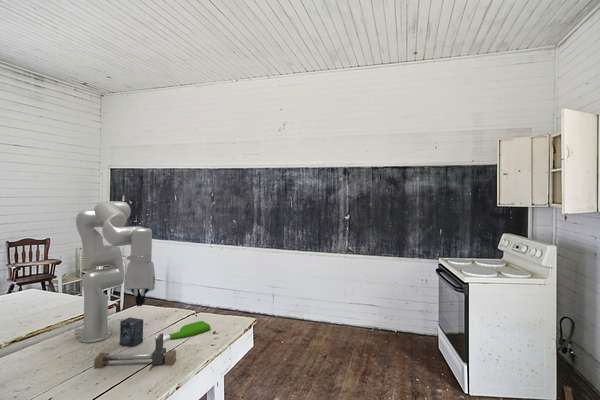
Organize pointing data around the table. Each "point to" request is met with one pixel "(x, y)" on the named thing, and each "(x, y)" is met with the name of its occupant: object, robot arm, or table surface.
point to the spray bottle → (188, 331)
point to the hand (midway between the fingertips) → (140, 305)
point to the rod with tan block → (132, 358)
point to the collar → (158, 351)
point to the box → (131, 331)
